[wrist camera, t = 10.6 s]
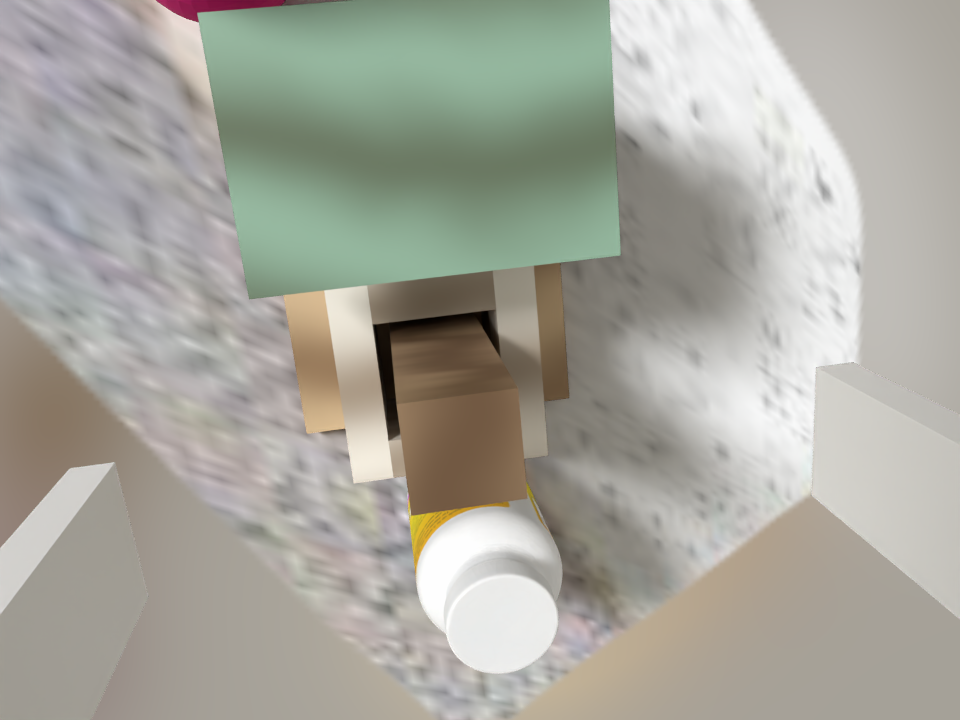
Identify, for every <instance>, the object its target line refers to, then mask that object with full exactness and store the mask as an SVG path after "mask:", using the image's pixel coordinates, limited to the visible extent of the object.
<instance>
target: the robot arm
mask: <svg viewBox="0 0 960 720" xmlns="http://www.w3.org/2000/svg"><path fill="white" fill-rule="evenodd" d="M811 496H813V497H814V498H815V499H816V500H817V501H819V502H820V503H821V504H822V505H823V506H825V507H826V508H827V509H828V510H829V511H831V512H832V513H833V514H834V515H836V516H837V517H838V518H839V519H840V520H841V521H843V522H844V523H845V524H846V525H847V526H849V527H850V528H851V529H852V530H853V531H855V532H856V533H857V534H858V535H859V536H861V537H862V538H863V539H864V540H865V541H867V542H868V543H869V544H870V545H872V546H873V547H874V548H875V549H876V550H878V551H879V552H880V553H881V554H882V555H884V556H885V557H886V558H887V559H888V560H890V561H891V562H892V563H893V564H894V565H895V566H897V567H898V568H899V569H900V570H901V571H903V572H904V573H905V574H906V575H907V576H909V577H910V578H911V579H912V580H913V581H915V582H916V583H917V584H918V585H919V586H921V587H922V588H923V589H924V590H925V591H927V592H928V593H929V594H930V595H931V596H933V597H934V598H935V599H936V600H937V601H938V602H940V603H941V604H942V605H943V606H944V607H946V608H947V609H948V610H949V611H950V612H952V613H953V614H954V615H955V616H957V617H958V618H959V619H960V414H958V413H956V412H954V411H952V410H950V409H948V408H946V407H944V406H942V405H940V404H938V403H936V402H934V401H932V400H930V399H927V398H925V397H923V396H921V395H919V394H917V393H915V392H913V391H911V390H909V389H907V388H905V387H903V386H901V385H899V384H897V383H895V382H893V381H891V380H889V379H887V378H884V377H882V376H880V375H878V374H876V373H874V372H872V371H870V370H868V369H866V368H864V367H862V366H860V365H858V364H856V363H854V362H851V363H844V364H837V365H829V366H822V367H816V383H815V410H814V437H813V463H812V490H811ZM148 597H149V596H148V592H147V588H146V584H145V580H144V576H143V572H142V568H141V564H140V560H139V556H138V552H137V548H136V544H135V540H134V536H133V532H132V528H131V524H130V520H129V516H128V512H127V508H126V504H125V500H124V496H123V492H122V488H121V484H120V480H119V476H118V472H117V468H116V464H115V462H113V463H106V464H100V465H92V466H84V467H77V468H70V469H69V470H68V471H67V472H66V473H65V475H64V476H63V477H62V478H61V479H60V480H59V481H58V483H57V484H56V485H55V486H54V487H53V488H52V489H51V491H50V492H49V493H48V494H47V495H46V496H45V498H44V499H43V500H42V501H41V502H40V503H39V504H38V506H37V507H36V508H35V509H34V510H33V512H31V514H30V515H29V516H28V517H27V518H26V519H25V520H24V522H23V523H22V524H21V525H20V526H19V527H18V529H17V530H16V531H15V532H14V533H13V534H12V536H11V537H10V538H9V539H8V540H7V541H6V542H5V544H4V545H3V546H2V547H1V548H0V720H92V718H93V715H94V713H95V711H96V709H97V707H98V705H99V702H100V700H101V698H102V696H103V694H104V692H105V690H106V688H107V685H108V683H109V681H110V679H111V677H112V675H113V672H114V670H115V668H116V666H117V664H118V662H119V659H120V658H121V655H122V653H123V651H124V649H125V647H126V645H127V643H128V640H129V638H130V636H131V634H132V632H133V630H134V627H135V625H136V623H137V621H138V619H139V617H140V614H141V612H142V610H143V608H144V606H145V604H146V602H147V599H148Z"/></svg>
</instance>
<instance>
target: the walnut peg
mask: <svg viewBox="0 0 960 720" xmlns="http://www.w3.org/2000/svg"><path fill="white" fill-rule="evenodd" d="M389 328H390V339H391V350H392V361H393V371H394V382H395V393H396V404H397V412H398V419H399V427H400V434H401V442H402V449H403V457H404V464H405V472H406V479H407V487H408V494H409V502H410V509H411V516H414V515H420V514H427V513H434V512H441V511H447V510H454V509H461V508H468V507H474V506H481V505H488V504H495V503H501V502H508V501H515V500H522V499H528V497H527V485H526V474H525V462H524V450H523V439H522V427H521V416H520V404H519V393H518V387H517V385H516V384H515V382H514V380H513V379H512V377H511V375H510V374H509V372H508V370H507V368H506V367H505V365H504V363H503V362H502V360H501V358H500V357H499V355H498V353H497V352H496V350H495V348H494V346H493V345H492V343H491V341H490V340H489V338H488V336H487V335H486V333H485V331H484V329H483V328H482V326H481V324H480V323H479V321H478V319H477V318H476V316H475V314H474V313H473V312H471V313H463V314H454V315H446V316H438V317H430V318H422V319H414V320H406V321H398V322H389Z"/></svg>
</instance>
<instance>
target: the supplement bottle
mask: <svg viewBox="0 0 960 720" xmlns="http://www.w3.org/2000/svg"><path fill="white" fill-rule="evenodd" d="M526 485H527V497H528V499H522V500H515V501H508V502H501V503H495V504H488V505H481V506H474V507H468V508H461V509H454V510H447V511H441V512H434V513H427V514H420V515H414V516H411V509H410V502H409V494H408V496H407V500H408V512H409V520H410V528H411V537H412V546H413V555H414V564H415V574H416V584H417V590H418V595H419V599H420V602H421V604H422V607H423V609H424V611H425V612H426V614H427V616H428V617H429V618H430V620H431V621H432V622H433V623H434V624H435V625H436V626H437V627H438V628H439V629H440V630H441V631H443V632H444V633H445V634H446V635H447V639H448V643H449V645H450V647H451V649H452V651H453V652H454V653H455V655H456V656H457V657H458V658H459V659H460V660H461V661H462V662H463V663H465V664H466V665H467V666H469V667H471V668H473V669H475V670H478V671H481V672H485V673H495V674H500V673H509V672H514V671H517V670H520V669H523V668H525V667H527V666H529V665H530V664H532V663H534V662H535V661H537V660H538V659H539V658H540V657H541V656H542V655H543V654H544V653H545V652H546V651H547V650H548V649H549V647H550V646H551V644H552V642H553V641H554V638H555V636H556V633H557V630H558V624H559V613H558V608H557V604H556V601H557V599H558V596H559V593H560V589H561V584H562V576H563V573H562V563H561V557H560V554H559V551H558V548H557V546H556V544H555V542H554V539H553V537H552V535H551V533H550V531H549V529H548V527H547V525H546V522H545V520H544V518H543V516H542V514H541V512H540V509H539V507H538V505H537V503H536V500H535V498H534V496H533V494H532V492H531V489H530V487H529V485H528V483H527V481H526Z"/></svg>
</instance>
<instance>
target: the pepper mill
mask: <svg viewBox="0 0 960 720" xmlns="http://www.w3.org/2000/svg"><path fill="white" fill-rule="evenodd" d="M156 1H157V2H159V3H160V4H162V5H163V6H165V7H166V8H168V9H169V10H170V11H172V12H173V13H176V14H178V15H180V16H182V17H184V18H186V19H189V20H192V21H196V22H199V20H198V14H197V13H201V12H213V11H226V10H238V9H250V8H262V7H275V6H281V5H282V4H283V3H284V2H285V0H156Z"/></svg>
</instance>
